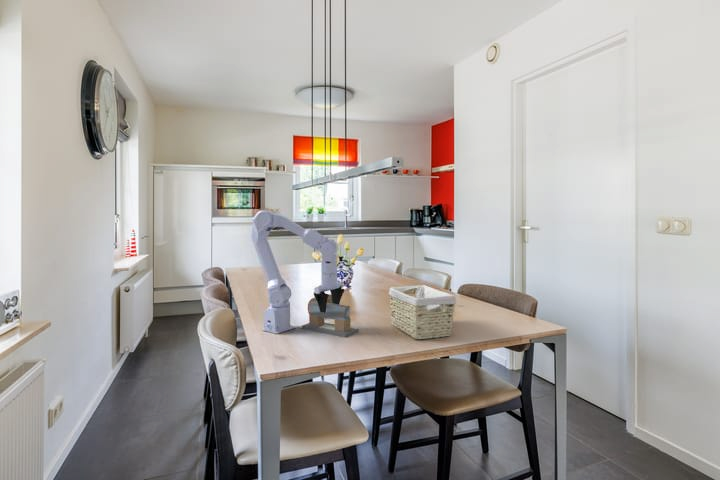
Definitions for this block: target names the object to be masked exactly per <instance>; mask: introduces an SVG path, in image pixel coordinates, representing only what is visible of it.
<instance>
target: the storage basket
mask: <svg viewBox="0 0 720 480" xmlns="http://www.w3.org/2000/svg"><path fill="white" fill-rule="evenodd" d="M412 294H413V295H412ZM388 295H389V298H390V299H389V301H390V302H389V304H390V305H389V306H390V307H389V308H390V322H391V325H392V326H394V327H395V328H397V329H398V330H400V331H401V332H404V333H405V334H407V335H408V336H411V337H412V338H413V339H415V340H422V339H423V340H426V339H437V338H444V337H451V335H452V330H453V320H454V313H455V312H454V311H455V307H456V306H455V305H456V303H457V300H456V296H455V295H454V294H451V293H448V292H445V291H443V290H439V289H436V288H434V287H431V286H427V285H425V284H419V285H406V286H391V287H390V288H389V291H388Z"/></svg>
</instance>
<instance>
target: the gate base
mask: <svg viewBox="0 0 720 480" xmlns="http://www.w3.org/2000/svg"><path fill="white" fill-rule="evenodd" d="M308 319H309V320H308V323H305V324H302V325H301V329H304V330H309V331H314V332H318V333H322V334H328V335H332V336H338V337H342V338H347V337H350V336H351V335H354V334H357V333H358V332H359V328H356V327H351V318H350V319H348V320H345V321H343V320H337V319H334V323H329V322H325V317H321V316H315V315H309V314H308Z"/></svg>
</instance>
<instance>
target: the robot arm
mask: <svg viewBox="0 0 720 480" xmlns="http://www.w3.org/2000/svg"><path fill="white" fill-rule="evenodd" d="M274 228H284V229H285V230H287V231H289V232H291V233H293V234H295V235H297V236H299V237H301V240H302V242H303V243H304V244H305V245H307V246H309V247H311V248H312V249H314V250H316V251H319V252H320V254H321V261H320V262H321V265H320V266H321V269H320V271H321V279H320V280H321V283H320V284H321V285H318V286H316V287H314V289H313V290H314V292H313V297H315V298H316V300H317V302H318V305H319V309H320V312H323V313H325V312H326V304H327V299H328V296H329V295H332V304H339V305H341V304H340V303H341V300H342V297H343V295H344V293H345V288H344V282H340V281H339V282H338V254H337V252H338V250H339V246H338V244H337V242H336V241H334V239H331V238H330V239H329V236H327V235H326V236H325V235H323V234H321V233H320V232H318V230H317V229H316V228H308V229H305V228H304V227H303V226H301V225H300V224H297V223H296V222H294V221H293V220H291V218H288V217H287V216H285V215H283V214H280V213H279V212H276V211H274V210H266V209H262V210H259V211H258V212H257V213H256V214H255V215H254V216H253V218H252V228H251V229H252V230H251V236H250V237H251V241H252V243H253V247H254V249H255V251H256V255H257V257H258V259H259V262H260V264H261V268H262V271H263V273H264V276H265V278H266V281H267V288H266V289H267V293H268V297H267V300H268V303H269V304H270V305H269V307H267V308H265V310H264V311H263V328H261V329H262V331H264V332H269V333H273V334H281V333H283V332H286V331H288V330H292V329H296V326H295V325H291V302H290V299H291V297H292V290H291V288H290V286H288V285H287V283H286V281H285V280H284V279H283V277H282V275H281V272H280V270H279V267H278V264H277V261H276V259H275V256H274V254H273V251H272V248H271V245H270V243H269V242H270V241H268V236H269V234H270V233H271V231H272V230H273V229H274ZM329 291H330V294H329V293H326V292H329Z"/></svg>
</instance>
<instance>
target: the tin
mask: <svg viewBox="0 0 720 480" xmlns="http://www.w3.org/2000/svg"><path fill="white" fill-rule="evenodd" d="M313 301H317V300H316V298H315V296H313V297H312V298H310V299H309V301H308V303H307V313H308V316H309V315H310V314H309V303H310V302H313ZM327 303H332V295H331V294H329V296H328V299H327Z"/></svg>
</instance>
